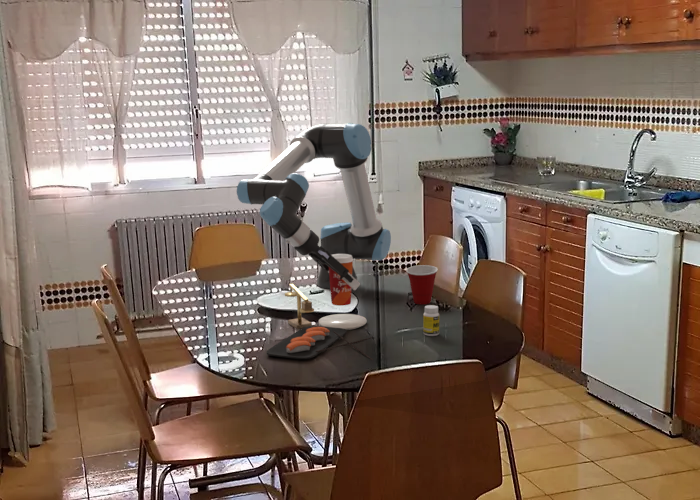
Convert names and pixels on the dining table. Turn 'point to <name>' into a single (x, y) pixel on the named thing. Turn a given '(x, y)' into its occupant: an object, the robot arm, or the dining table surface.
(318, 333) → the sushi plate
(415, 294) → the plastic cup
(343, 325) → the white round disc
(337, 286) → the coffee cup
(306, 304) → the balance
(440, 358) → the dining table surface
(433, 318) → the supplement bottle
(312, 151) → the robot arm
